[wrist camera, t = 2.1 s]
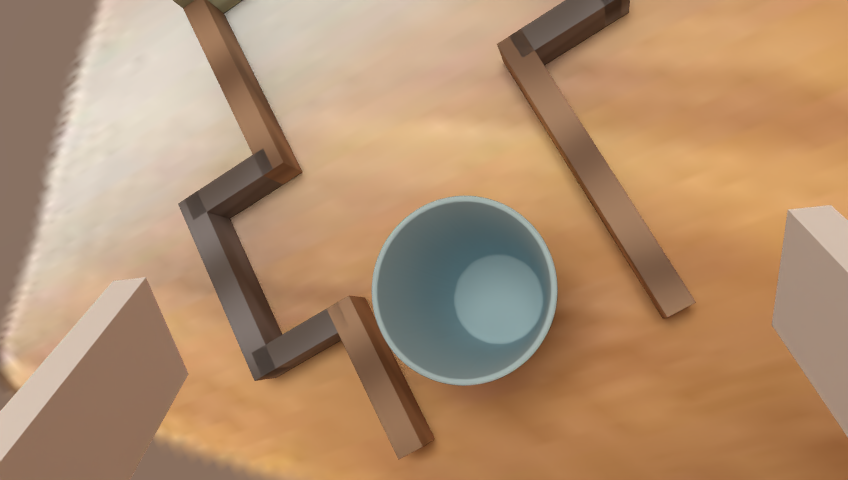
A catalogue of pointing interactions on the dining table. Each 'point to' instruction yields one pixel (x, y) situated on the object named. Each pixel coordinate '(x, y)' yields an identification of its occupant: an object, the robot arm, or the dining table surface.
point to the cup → (464, 290)
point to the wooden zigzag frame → (352, 317)
